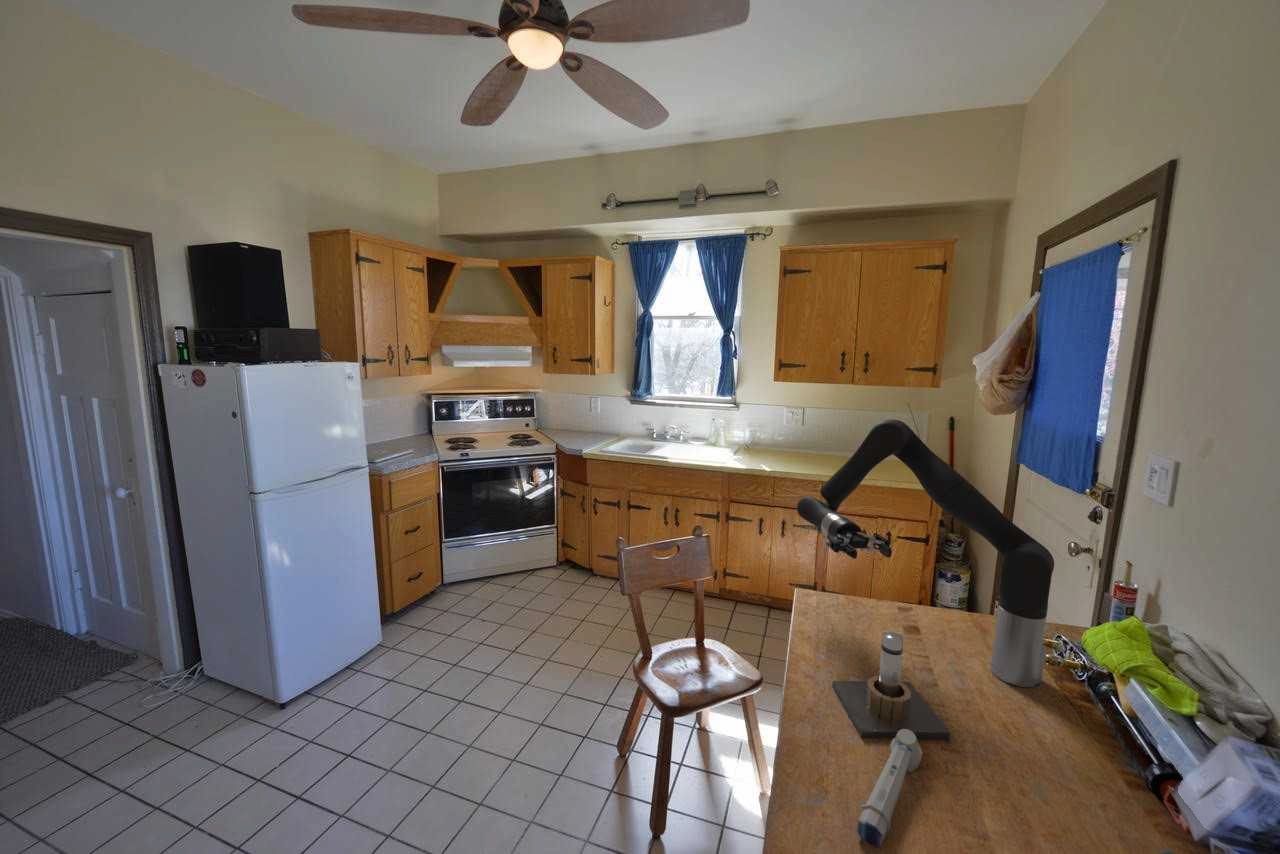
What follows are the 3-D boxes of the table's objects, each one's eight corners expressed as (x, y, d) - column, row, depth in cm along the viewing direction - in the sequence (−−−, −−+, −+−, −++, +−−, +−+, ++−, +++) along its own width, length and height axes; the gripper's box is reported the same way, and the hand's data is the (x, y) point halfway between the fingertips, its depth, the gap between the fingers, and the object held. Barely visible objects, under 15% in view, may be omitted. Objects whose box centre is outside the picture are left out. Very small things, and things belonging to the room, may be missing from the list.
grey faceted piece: (852, 814, 83) (896, 714, 101) (851, 846, 84) (895, 742, 102) (887, 835, 79) (926, 727, 97) (885, 867, 81) (924, 755, 99)
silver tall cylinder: (891, 698, 114) (897, 631, 111) (900, 711, 110) (907, 642, 107) (873, 698, 114) (878, 631, 111) (881, 710, 110) (887, 641, 107)
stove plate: (908, 687, 120) (911, 666, 119) (949, 739, 104) (952, 714, 103) (832, 686, 120) (833, 665, 119) (861, 738, 104) (863, 713, 103)
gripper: (816, 517, 137) (845, 540, 121) (866, 516, 138) (902, 538, 122) (814, 544, 138) (843, 570, 122) (864, 542, 139) (899, 568, 123)
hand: (872, 554), depth 122 cm, fingers open, 8 cm apart
